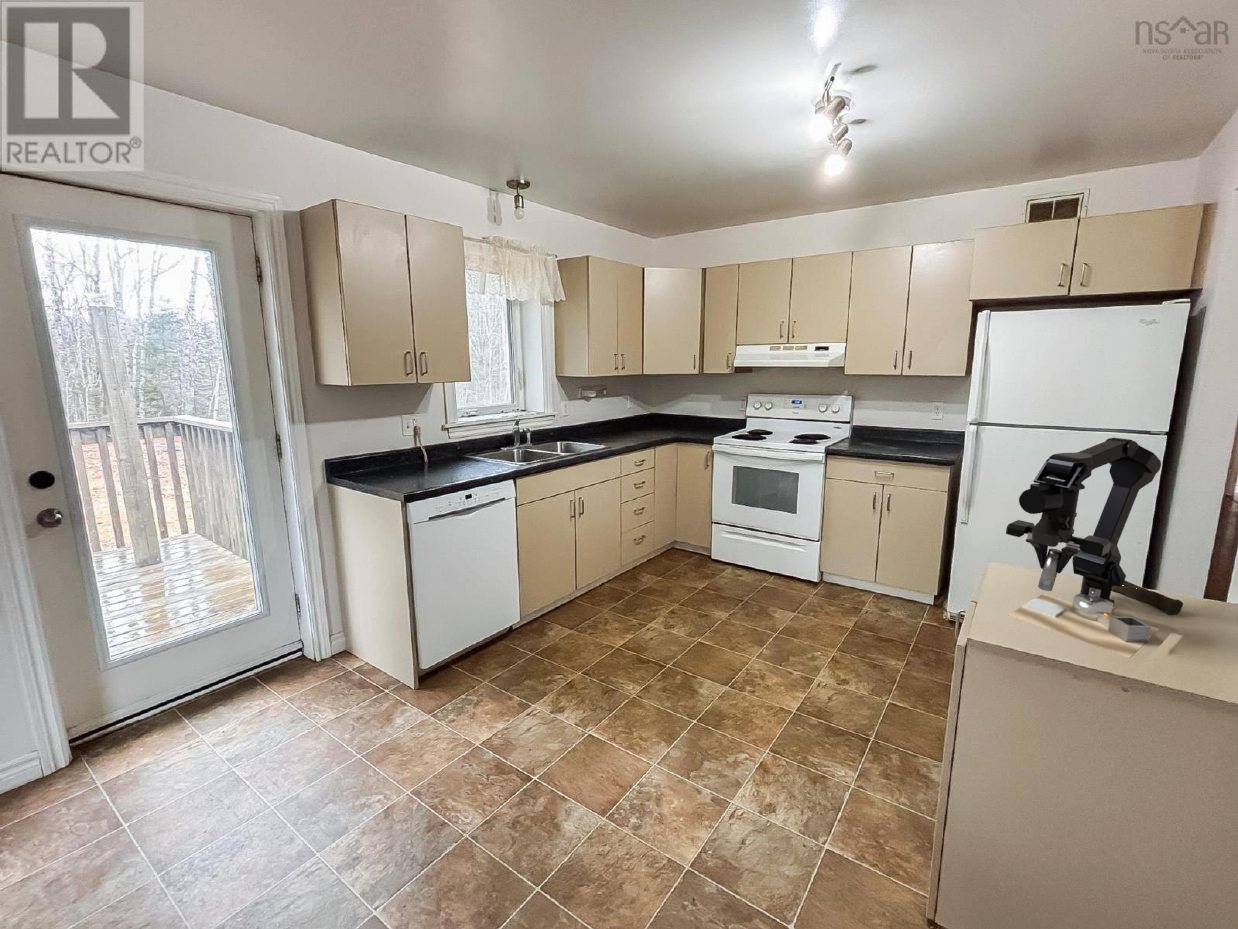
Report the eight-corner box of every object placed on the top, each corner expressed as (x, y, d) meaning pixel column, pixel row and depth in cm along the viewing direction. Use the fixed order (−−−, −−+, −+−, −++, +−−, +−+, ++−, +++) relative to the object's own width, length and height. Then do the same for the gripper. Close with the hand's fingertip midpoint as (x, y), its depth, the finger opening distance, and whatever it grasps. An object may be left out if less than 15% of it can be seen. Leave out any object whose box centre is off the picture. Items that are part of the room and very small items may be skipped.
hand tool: (1182, 615, 131) (1186, 597, 130) (1169, 616, 130) (1172, 599, 129) (1103, 583, 149) (1106, 567, 148) (1090, 584, 148) (1093, 568, 147)
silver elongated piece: (1064, 607, 132) (1068, 582, 131) (1094, 607, 132) (1098, 582, 130) (1120, 641, 117) (1125, 614, 115) (1153, 642, 116) (1159, 614, 115)
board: (1041, 599, 140) (1042, 593, 140) (1157, 635, 122) (1159, 628, 122) (1007, 621, 129) (1007, 615, 129) (1128, 664, 111) (1129, 657, 111)
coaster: (1034, 600, 136) (1034, 597, 136) (1065, 609, 131) (1066, 607, 131) (1023, 607, 133) (1023, 604, 133) (1055, 617, 128) (1055, 615, 127)
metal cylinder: (1035, 587, 132) (1046, 550, 129) (1040, 583, 133) (1051, 547, 130) (1049, 592, 130) (1061, 555, 126) (1053, 589, 131) (1065, 552, 128)
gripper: (999, 505, 130) (991, 566, 133) (1098, 525, 115) (1087, 593, 118) (1020, 497, 136) (1011, 556, 139) (1116, 515, 120) (1105, 580, 124)
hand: (1050, 570), depth 130 cm, fingers closed on metal cylinder, 3 cm apart
